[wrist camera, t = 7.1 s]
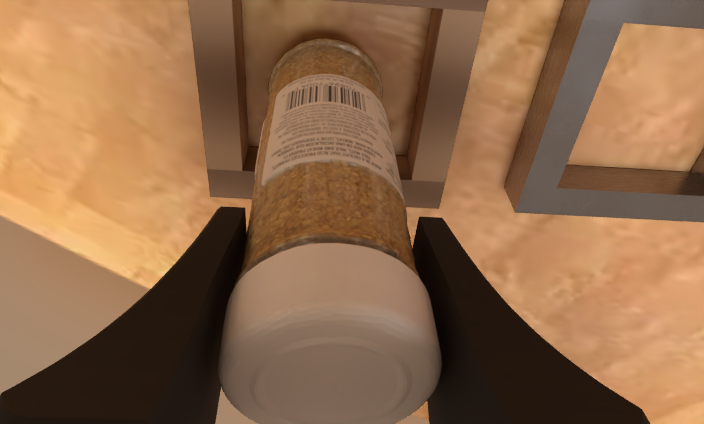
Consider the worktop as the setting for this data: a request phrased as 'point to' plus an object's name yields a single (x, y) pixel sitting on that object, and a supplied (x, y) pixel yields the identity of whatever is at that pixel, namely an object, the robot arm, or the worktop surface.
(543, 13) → the worktop surface
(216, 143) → the brown square frame
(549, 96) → the socket block
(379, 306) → the spice jar
